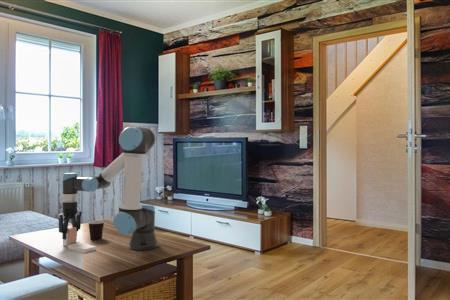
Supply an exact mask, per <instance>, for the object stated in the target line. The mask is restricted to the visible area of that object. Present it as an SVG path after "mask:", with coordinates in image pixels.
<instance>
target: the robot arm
mask: <svg viewBox="0 0 450 300" xmlns="http://www.w3.org/2000/svg"><path fill="white" fill-rule="evenodd" d="M118 144H119V145H120V147H121V148H122V153H121V154H120V155H118V157H116V158H115V159H114V160H113V161H112V162H111V163H110V164H108V165H107V167H105V168H104V169H103V170H102V171H101V172H100V173H99V174H98V175H94V176H84V177H83V176H78V175H79V174H78V173H77V172H65V173H63V175H62V206H61V207H62V211H61V213H60V214H57V218H58V219H57V220H58V233H61V234H62V236H61V237H62V240H63V239H64V245H66V246H65V247H67V245H68V233H67V228H68V226H69V222H70V221H71V226H73V227H77V228H76V238H77V237H78V232H79V230H81V222H82V221H81V220H82V213H83V212H82V211H81V210H80V211H79V210H78V192H86V193H90V192H92V193H93V192H96V190H100V189H101V190H102V189H104V190H105V189H106V188H109V187H110V186H111V184H112V181H114V180H115V179H116V178H117V177H118V176H119V175H120V174H122V172H123V173H124V175H123V187H122V189H123V190H122V202H121V204H120V205H119V206H118V212H117V214H115V216H114V218H113V226H114V228H115V230H116V231H117V232H118V233H119V234H122V235H127V236H128V235H131V238H130V241H129V243H128V246H129V247H128V248H129V249H130V250H134V251H148V250H153V249H156V248H157V247H158V240H157V237H156V236H157V235H156V233H155V223H156V220H155V218H156V217H155V214H156V211H155V206H154V205H153V204H143V203H142V204H141V187H142V186H141V185H142V175H143V173H142V172H143V171H142V170H143V160H144V159H143V158H144V157H145V156H146V155H147V153H148V152H149V151H150V150H151V149H152V148H153V147H154V145H155V144H156V135H155V133H154V132H153V130H152V129H150V128H147V127H138V126H127V127H125V128H124V129H123V130H122V131H121V132H120V133H119V137H118Z"/></svg>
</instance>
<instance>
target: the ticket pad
mask: <svg viewBox="0 0 450 300" xmlns="http://www.w3.org/2000/svg"><path fill="white" fill-rule="evenodd" d="M67 249H68V250H69V249H70V250H72V251H77V252H80V253H84V254H85V253H88V252H92V251H96V249H97V246H96V245H92V244H87V243H84V242H80V241H76V243H72V244H68V247H67Z"/></svg>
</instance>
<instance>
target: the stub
mask: <svg viewBox="0 0 450 300" xmlns="http://www.w3.org/2000/svg"><path fill="white" fill-rule="evenodd" d="M76 228H77V227H73V226H72V225H68V228H67V233H68V244H72V243H76V242H77V237H76ZM62 246H63V247H67V248H68V245H67V246H66V245H64V239H63V238H62Z"/></svg>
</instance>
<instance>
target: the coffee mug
mask: <svg viewBox="0 0 450 300" xmlns="http://www.w3.org/2000/svg"><path fill="white" fill-rule="evenodd" d="M104 225H105V221H103V220H93V221H89V222H88V229H89V239H90V240H91V241H100V240H102V239H103V233H104Z"/></svg>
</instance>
